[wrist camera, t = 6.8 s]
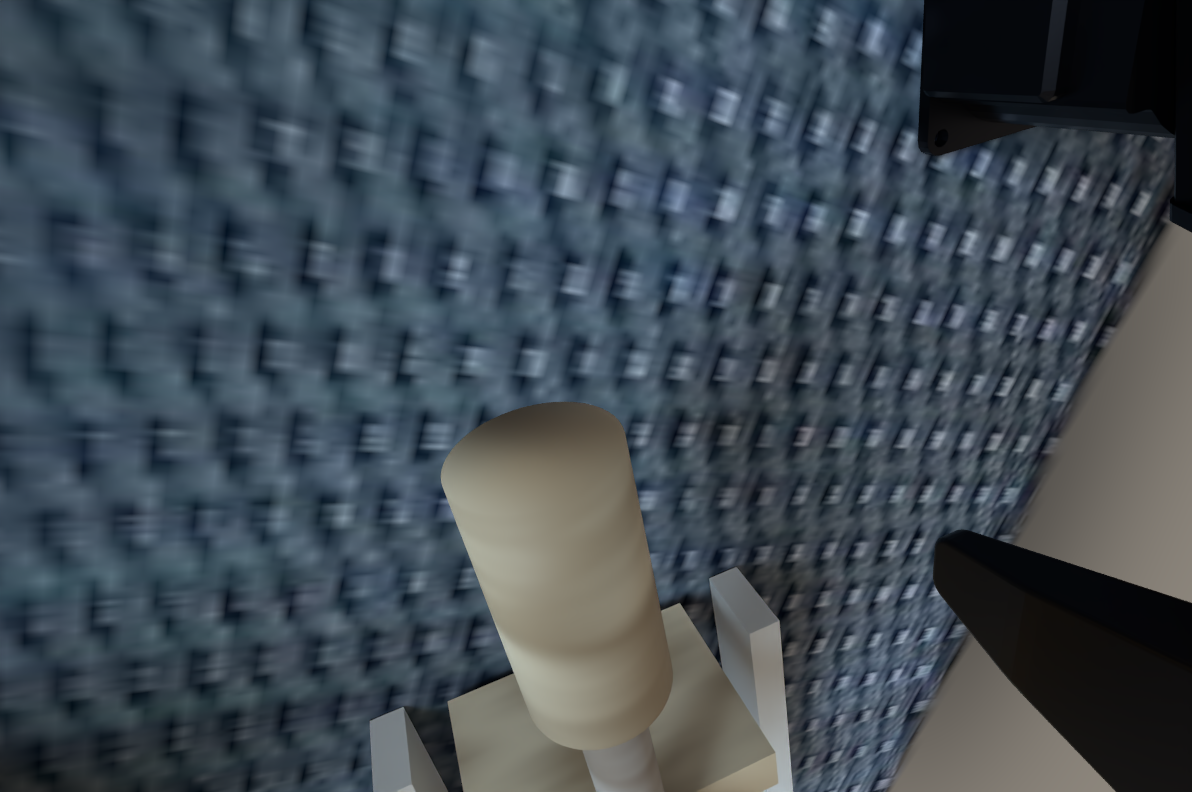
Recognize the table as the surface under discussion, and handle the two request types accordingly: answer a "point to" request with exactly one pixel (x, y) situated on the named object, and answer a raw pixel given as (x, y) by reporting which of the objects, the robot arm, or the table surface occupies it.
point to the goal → (748, 660)
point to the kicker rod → (584, 625)
